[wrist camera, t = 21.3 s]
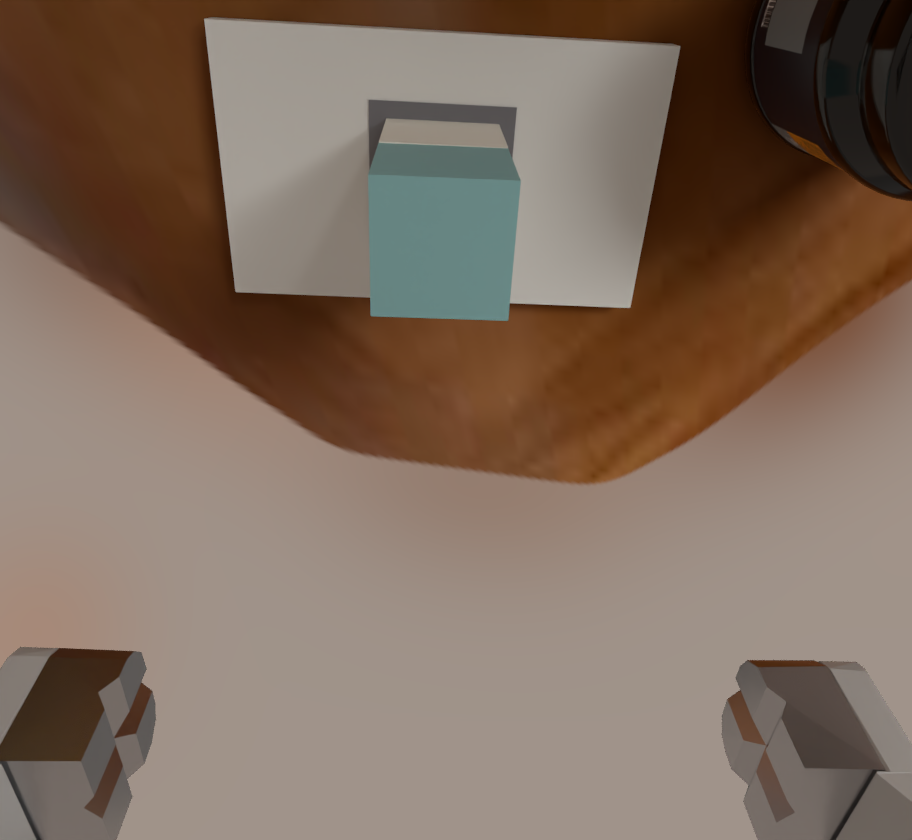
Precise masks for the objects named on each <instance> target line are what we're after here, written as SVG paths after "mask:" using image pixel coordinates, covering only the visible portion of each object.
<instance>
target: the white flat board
mask: <svg viewBox="0 0 912 840" xmlns="http://www.w3.org/2000/svg"><path fill="white" fill-rule="evenodd" d="M204 22H205V31H206V40H207V49H208V57H209V66H210V75H211V83H212V92H213V101H214V110H215V118H216V127H217V136H218V145H219V153H220V162H221V171H222V179H223V188H224V197H225V206H226V214H227V223H228V232H229V241H230V249H231V258H232V267H233V275H234V284H235V292H244V293H269V294H294V295H319V296H343V297H368V298H370V254H369V196H368V173H369V170H370V167H371V164H372V161H373V158H374V155H375V152H376V149H377V146H378V143H379V139H380V136H381V133H382V130H383V127H384V124H385V121H386V118H390V119H409V120H429V121H448V122H467V123H487V124H499V125H500V128H501V130H502V133H503V135H504V138H505V140H506V143H507V146H508V149H509V152H510V154H511V157H512V159H513V162H514V164H515V167H516V170H517V172H518V175H519V177H520V180H521V185H520V196H519V207H518V218H517V229H516V240H515V251H514V262H513V273H512V284H511V295H510V303H517V304H542V305H567V306H592V307H616V308H630V306H631V301H632V296H633V291H634V286H635V280H636V275H637V270H638V265H639V260H640V255H641V249H642V244H643V239H644V234H645V229H646V223H647V218H648V213H649V208H650V203H651V197H652V192H653V187H654V182H655V177H656V171H657V166H658V161H659V156H660V151H661V145H662V140H663V135H664V130H665V125H666V119H667V114H668V109H669V104H670V99H671V93H672V88H673V83H674V78H675V73H676V67H677V62H678V57H679V52H680V47H681V46H678V45H675V44H669V43H652V42H635V41H617V40H600V39H582V38H565V37H548V36H530V35H513V34H496V33H478V32H461V31H444V30H426V29H409V28H392V27H374V26H357V25H340V24H322V23H305V22H288V21H270V20H253V19H236V18H218V17H210V18H206V19H204Z"/></svg>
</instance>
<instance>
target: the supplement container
mask: <svg viewBox="0 0 912 840" xmlns="http://www.w3.org/2000/svg"><path fill="white" fill-rule="evenodd" d="M745 70H746V78H747V83H748V87H749V92H750V95H751V97H752V100H753V103H754V105H755V107H756V109H757V111H758V113H759V115H760V117H761V118H762V120H763V121H764V123H765V124H766V125H767V126H768V128H769V129H770V130H771V131H772V132H773V133H774V134H775V135H776V136H777V137H778V138H779V139H781V140H782V141H783V142H785V143H786V144H788V145H789V146H791V147H793V148H795V149H797V150H799V151H801V152H803V153H805V154H808V155H811V156H814V157H817V158H819V159H821V160H823V161H825V162H827V163H829V164H831V165H833V166H835V167H837V168H839V169H841V170H843V171H845V172H847V173H848V174H849V175H850V176H851V177H852V178H854V179H855V180H857V181H858V182H859V183H861V184H862V185H864V186H866V187H868V188H870V189H872V190H874V191H876V192H878V193H880V194H883V195H886V196H889V197H892V198H896V199H901V200H906V201H912V0H756V2H755V4H754V7H753V10H752V13H751V17H750V21H749V25H748V30H747V36H746V45H745Z"/></svg>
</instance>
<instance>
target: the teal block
mask: <svg viewBox="0 0 912 840" xmlns="http://www.w3.org/2000/svg"><path fill="white" fill-rule="evenodd" d="M520 185H521V180H520V177H519V175H518V172H517V170H516V167H515V164H514V162H513V159H512V157H511V154H510V152H509V149H508V148H487V147H464V146H441V145H418V144H395V143H378V146H377V149H376V152H375V155H374V158H373V161H372V164H371V167H370V170H369V173H368V196H369V254H370V311H371V316H378V317H409V318H439V319H469V320H499V321H508V317H509V306H510V295H511V284H512V273H513V262H514V251H515V240H516V229H517V218H518V207H519V196H520Z"/></svg>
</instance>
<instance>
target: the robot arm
mask: <svg viewBox="0 0 912 840" xmlns="http://www.w3.org/2000/svg"><path fill="white" fill-rule="evenodd" d="M145 671H146V666H145V662H144V659H143V656H142V653H141V652H136V651H114V650H91V649H68V648H32V647H20V648H19V649H17V650H16V651H15V652H14V653H12V654H11V655H10V656H9V657H8V658H7V659H6V661H5V662H4V664H3V666H2V667H1V669H0V840H116V839H117V836H118V834H119V831H120V828H121V826H122V823H123V820H124V818H125V815H126V812H127V809H128V807H129V803H130V801H131V799H132V794H131V791H130V787H129V784H128V781H127V779H128V778H129V777H130V776H131V775H132V774H133V773H134V772H135V771H137V770H138V769H139V768H140V767H141V766H142V765H143V764H144V763H145V760H146V757H147V754H148V752H149V749H150V746H151V743H152V738H153V732H154V726H155V720H156V714H155V700H154V696H153V692H152V690H150V689H149V688H148V687H146V686H145V685H144V684H143V683H141V681H142V679H143V676H144V674H145ZM736 680H737V682H738V685H739V688H740V691H738V692H737V693H736V694H734V695H732V696H731V697H730V698H728V699H727V702H726V705H725V708H724V711H723V714H722V738H723V742H724V748H725V752H726V755H727V758H728V761H729V763H730V766H731V769H732V770H733V771H734V772H735V773H736V774H737V775H738V776H739V777H740V778H742V779H743V780H744V781H745V782H746V783H747V784H748V785H749V786H748V789H747V792H746V795H745V798H744V801H743V802H744V804H745V807H746V810H747V812H748V815H749V818H750V820H751V823H752V826H753V828H754V831H755V834H756V836H757V838H758V840H912V744H911V742H910V740H909V739H908V737H907V736H906V734H905V733H904V731H903V729H902V728H901V726H900V724H899V723H898V721H897V719H896V718H895V716H894V715H893V713H892V711H891V710H890V708H889V707H888V705H887V703H886V702H885V700H884V699H883V697H882V695H881V694H880V692H879V691H878V689H877V687H876V686H875V685H874V682H873V681H872V679H871V678H870V676H869V674H868V673H867V671H866V670H865V668H863V667H862V666H861V665H860V664H858V663H857V662H832V661H830V662H829V661H819V662H817V661H814V660H804V661H803V660H799V661H798V660H747V661H746V662H745V663H743V664H742V665H741V666H740V668H739V671H738V673H737V676H736Z"/></svg>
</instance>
